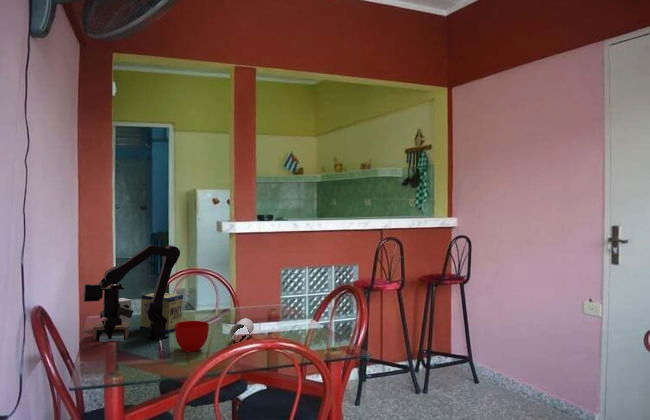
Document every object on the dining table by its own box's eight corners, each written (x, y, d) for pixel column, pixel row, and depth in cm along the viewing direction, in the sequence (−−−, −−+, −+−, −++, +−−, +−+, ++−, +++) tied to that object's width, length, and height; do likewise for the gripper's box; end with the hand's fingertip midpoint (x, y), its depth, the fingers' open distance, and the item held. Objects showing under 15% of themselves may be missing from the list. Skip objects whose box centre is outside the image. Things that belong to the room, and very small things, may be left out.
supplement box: (115, 329, 231) (116, 301, 231) (106, 327, 236) (107, 299, 236) (130, 327, 237) (131, 299, 237) (121, 324, 242) (122, 297, 242)
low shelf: (127, 338, 217) (128, 326, 217) (92, 339, 213) (93, 327, 213) (128, 333, 225) (129, 322, 225) (94, 335, 221) (95, 323, 221)
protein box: (168, 333, 229) (170, 298, 229) (139, 329, 234) (140, 294, 234) (182, 328, 239) (183, 294, 239) (154, 324, 244) (155, 291, 244)
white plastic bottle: (256, 333, 236) (257, 315, 236) (248, 343, 217) (248, 324, 217) (239, 332, 236) (240, 314, 236) (229, 342, 217) (230, 323, 218)
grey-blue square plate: (123, 342, 213) (123, 336, 213) (99, 343, 211) (99, 337, 211) (124, 336, 223) (125, 331, 223) (102, 337, 220) (102, 331, 220)
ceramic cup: (188, 341, 216) (189, 317, 216) (214, 350, 206) (215, 324, 206) (161, 347, 206) (162, 322, 206) (187, 356, 196) (188, 329, 196)
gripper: (136, 303, 207) (134, 342, 207) (128, 295, 223) (127, 332, 223) (106, 305, 201) (104, 345, 201) (100, 297, 218) (98, 334, 218)
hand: (109, 339), depth 211 cm, fingers closed
